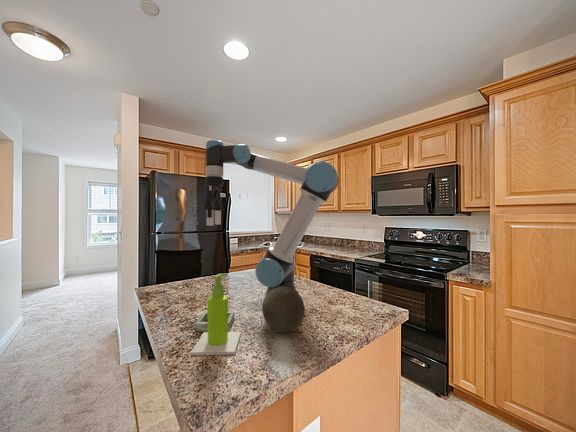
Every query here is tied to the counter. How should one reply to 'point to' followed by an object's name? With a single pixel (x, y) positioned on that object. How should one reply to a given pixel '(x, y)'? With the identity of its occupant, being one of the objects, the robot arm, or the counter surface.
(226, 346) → the mat
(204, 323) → the frame
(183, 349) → the counter surface
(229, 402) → the counter surface
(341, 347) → the counter surface
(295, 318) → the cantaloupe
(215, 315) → the soap dispenser
